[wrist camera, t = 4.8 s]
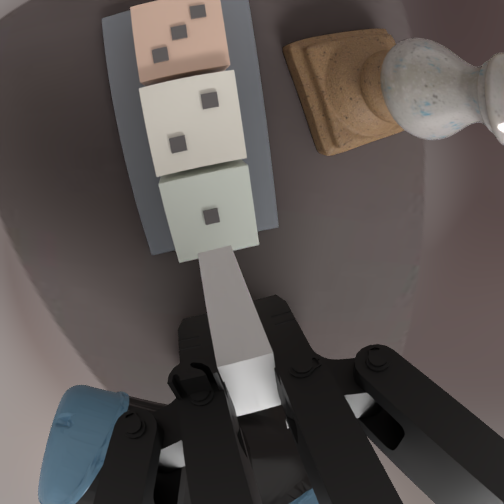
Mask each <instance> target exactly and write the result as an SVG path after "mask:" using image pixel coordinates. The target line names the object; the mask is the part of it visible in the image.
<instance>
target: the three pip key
mask: <svg viewBox="0 0 504 504" xmlns="http://www.w3.org/2000/svg"><path fill="white" fill-rule="evenodd" d="M130 11H131V20H132V29H133V37H134V45H135V53H136V60H137V66H138V73H139V79H140V83H141V84H143V85H145V86H150V85H154V84H158V83H162V82H167V81H171V80H176V79H181V78H186V77H191V76H196V75H202V74H208V73H215V72H221V71H225V70H226V69H227V68H228V67H229V66H230V59H229V53H228V46H227V40H226V33H225V27H224V20H223V14H222V7H221V1H220V0H157V1H153V2H148V3H144V4H140V5H136V6H132V7H130Z"/></svg>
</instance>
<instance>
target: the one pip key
mask: <svg viewBox="0 0 504 504" xmlns="http://www.w3.org/2000/svg"><path fill="white" fill-rule="evenodd" d="M158 185H159V189H160V193H161V197H162V201H163V205H164V209H165V213H166V217H167V221H168V224H169V228H170V232H171V235H172V239H173V243H174V246H175V250H176V253H177V257H178V260H179V263H181V262H185V261H190V260H194V259H199V258H198V253H201V252H205V251H209V250H213V249H217V248H221V247H225V246H229V245H231V247H232V249H233V251H234V250H238V249H243V248H247V247H252V246H256V245H259V240H258V232H257V225H256V218H255V211H254V204H253V197H252V189H251V182H250V175H249V168H248V165H247V164H246V163H245V162H244V161H243V160H242V159H239V160H233V161H228V162H223V163H218V164H213V165H208V166H203V167H198V168H193V169H189V170H184V171H180V172H176V173H171V174H167V175H163V176H161V178H160V181H159V184H158Z"/></svg>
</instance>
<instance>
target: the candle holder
mask: <svg viewBox="0 0 504 504" xmlns="http://www.w3.org/2000/svg"><path fill="white" fill-rule="evenodd" d="M283 54H284V57H285V60H286V63H287V66H288V69H289V71H290V74H291V77H292V79H293V82H294V85H295V88H296V90H297V93H298V96H299V99H300V102H301V105H302V108H303V111H304V114H305V117H306V120H307V123H308V126H309V129H310V132H311V135H312V138H313V141H314V143H315V146H316V149H317V151H318V152H319V153H321V154H323V155H326V156H331V155H334V154H338V153H341V152H345V151H347V150H350V149H353V148H356V147H358V146H361V145H364V144H367V143H370V142H373V141H375V140H378V139H381V138H384V137H387V136H390V135H393V134H396V133H399V132H402V131H404V130H405V131H407V132H408V133H410V134H411V135H413V136H416V137H418V138H422V139H426V140H438V139H443V138H446V137H449V136H451V135H453V134H455V133H457V132H459V131H460V130H462V129H463V128H465V127H466V126H468V125H470V124H473V123H477V122H481V123H483V124H485V125H486V126H487V127H488V129H489V130H490V131H491V132H492V133H493V134H494V135H495V136H496V138H497V139H498V141H499V142H500V143H501V144H502V145H504V53H497V54H495V55H493V56H492V57H491V59H490V60H489V61H487V62H485V63H484V64H483V65H482V66H480V67H474V66H472V65H470V64H468V63H467V62H465V61H464V60H462V59H461V58H459V57H458V56H457V55H455V54H454V53H453V52H451V51H450V50H449V49H447V48H446V47H444V46H442V45H440V44H438V43H436V42H434V41H431V40H427V39H423V38H410V39H405V40H402V41H400V42H398V43H397V44H395V41H394V39H393V38H392V36H391V35H389V34H388V33H387V31H386V30H385V29H364V30H355V31H348V32H340V33H334V34H328V35H322V36H317V37H311V38H307V39H303V40H300V41H296V42H292V43H290V44H288V45H286V46H284V47H283Z"/></svg>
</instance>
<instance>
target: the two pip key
mask: <svg viewBox="0 0 504 504" xmlns="http://www.w3.org/2000/svg"><path fill="white" fill-rule="evenodd" d="M139 93H140V99H141V104H142V110H143V115H144V120H145V126H146V131H147V135H148V140H149V145H150V150H151V154H152V159H153V163H154V168H155V172H156V177H159V176H163V175H167V174H171V173H176V172H180V171H184V170H189V169H193V168H198V167H203V166H208V165H213V164H218V163H223V162H228V161H233V160H239V159H244V158H247V154H246V147H245V140H244V133H243V127H242V120H241V113H240V106H239V99H238V93H237V86H236V79H235V72H234V70H229V71H221V72H215V73H208V74H202V75H196V76H191V77H186V78H181V79H176V80H171V81H167V82H162V83H158V84H154V85H150V86H146V87H142V88H139Z"/></svg>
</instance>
